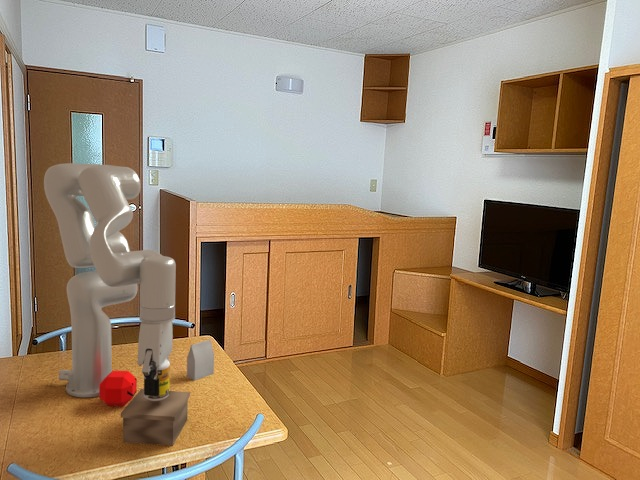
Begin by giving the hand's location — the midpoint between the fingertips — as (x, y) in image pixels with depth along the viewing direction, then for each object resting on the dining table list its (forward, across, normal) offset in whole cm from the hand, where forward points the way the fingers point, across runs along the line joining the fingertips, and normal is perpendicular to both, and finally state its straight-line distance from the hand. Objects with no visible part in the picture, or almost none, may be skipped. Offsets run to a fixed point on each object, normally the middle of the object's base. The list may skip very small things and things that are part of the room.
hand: (156, 387), depth 114 cm
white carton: (+11, -31, +2) cm, 33 cm away
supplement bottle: (+2, 0, 0) cm, 2 cm away
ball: (+11, -12, -14) cm, 21 cm away
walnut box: (+10, 0, 0) cm, 10 cm away
